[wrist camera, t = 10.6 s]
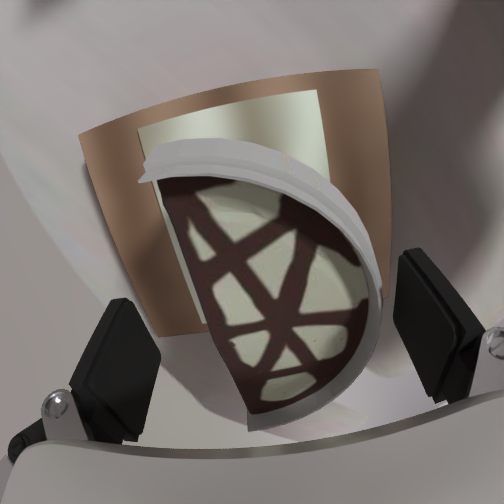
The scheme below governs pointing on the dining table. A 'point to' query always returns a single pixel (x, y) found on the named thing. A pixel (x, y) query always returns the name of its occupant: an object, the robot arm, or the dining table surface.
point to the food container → (272, 271)
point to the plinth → (249, 130)
